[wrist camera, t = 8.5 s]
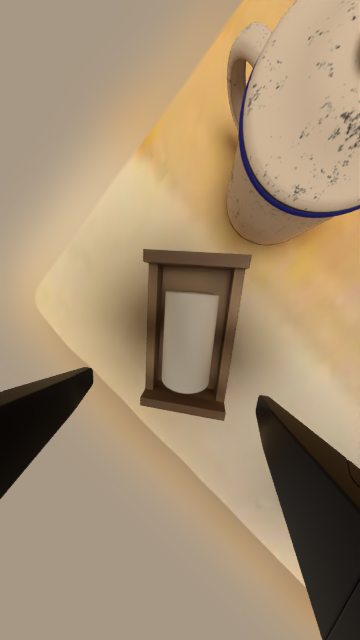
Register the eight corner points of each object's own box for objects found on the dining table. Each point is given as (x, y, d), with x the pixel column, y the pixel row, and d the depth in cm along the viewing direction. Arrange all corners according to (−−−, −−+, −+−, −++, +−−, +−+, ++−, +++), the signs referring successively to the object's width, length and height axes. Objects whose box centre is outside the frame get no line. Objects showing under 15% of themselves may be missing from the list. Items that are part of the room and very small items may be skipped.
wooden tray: (220, 392, 21) (224, 420, 17) (153, 381, 23) (140, 405, 18) (240, 261, 18) (251, 254, 13) (158, 256, 19) (143, 249, 14)
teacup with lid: (347, 198, 15) (760, -45, 4) (258, 267, 17) (352, 242, 6) (268, 82, 14) (506, -685, 3) (186, 171, 17) (143, -61, 5)
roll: (208, 370, 20) (209, 398, 15) (167, 364, 21) (155, 389, 16) (217, 292, 18) (222, 296, 13) (171, 288, 18) (159, 291, 14)
